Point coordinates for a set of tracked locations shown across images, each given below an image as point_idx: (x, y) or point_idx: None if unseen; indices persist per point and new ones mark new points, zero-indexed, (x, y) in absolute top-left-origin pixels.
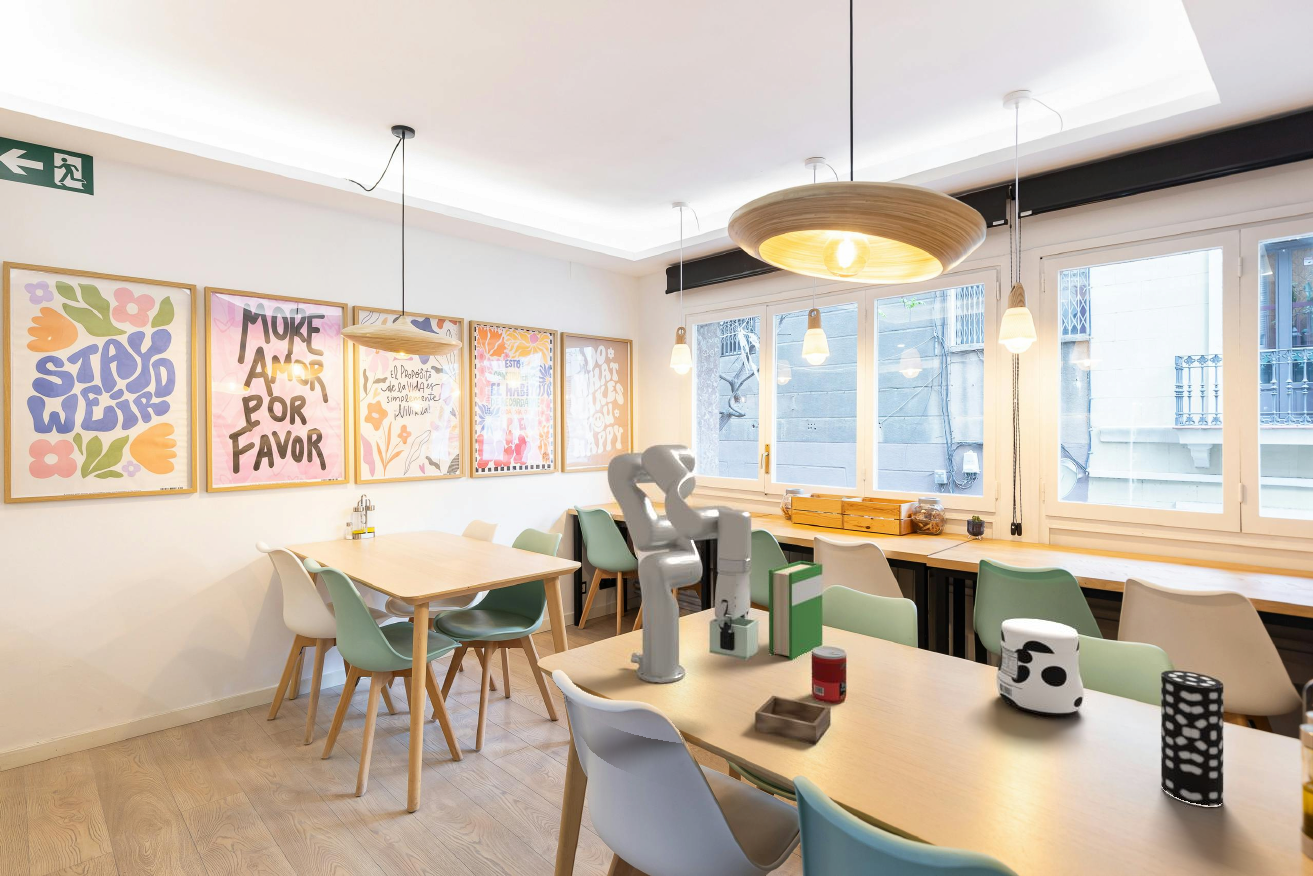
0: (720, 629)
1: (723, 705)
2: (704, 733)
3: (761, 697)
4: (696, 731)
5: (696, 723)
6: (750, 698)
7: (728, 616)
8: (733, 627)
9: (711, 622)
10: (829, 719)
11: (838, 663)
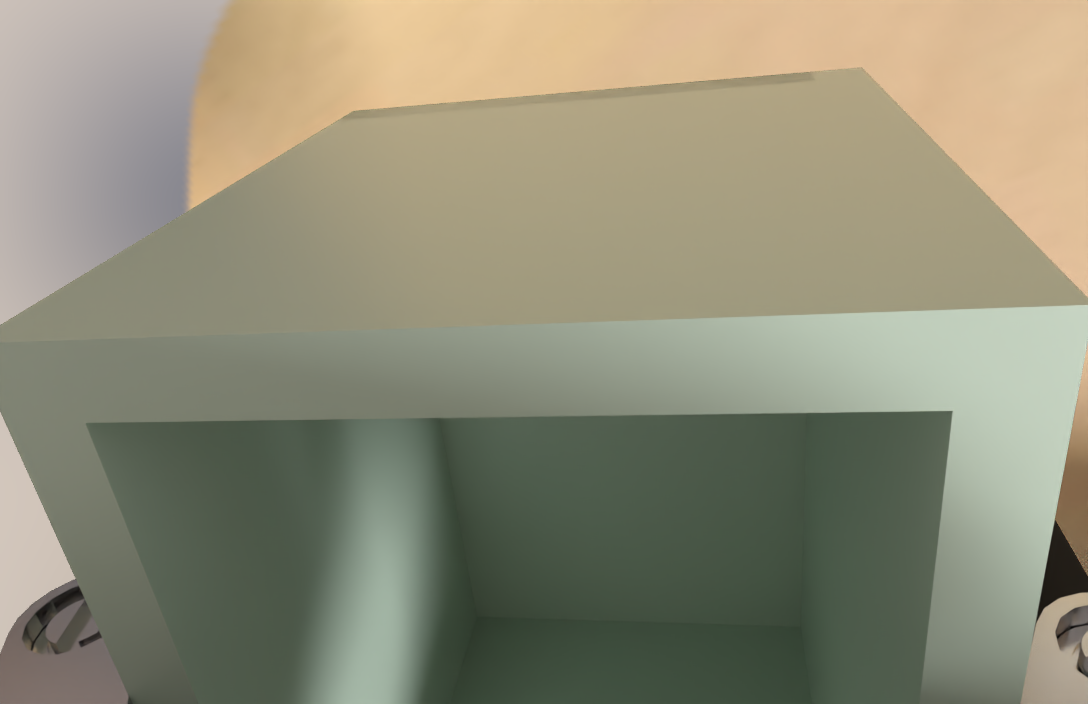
0: (38, 634)
1: (733, 23)
2: (238, 159)
3: (1060, 217)
4: (222, 98)
5: (316, 25)
6: (996, 148)
7: (932, 595)
8: None
9: (7, 396)
10: None
11: None
